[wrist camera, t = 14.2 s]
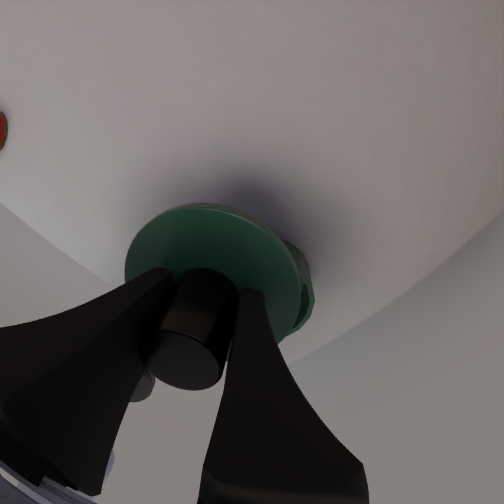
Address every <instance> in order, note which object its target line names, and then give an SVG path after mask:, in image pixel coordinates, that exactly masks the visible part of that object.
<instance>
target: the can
mask: <svg viewBox="0 0 504 504" xmlns="http://www.w3.org/2000/svg"><path fill="white" fill-rule="evenodd" d="M2 136H3V120H2V117H1V115H0V143H1V141H2Z"/></svg>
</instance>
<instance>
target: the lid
mask: <svg viewBox="0 0 504 504" xmlns="http://www.w3.org/2000/svg"><path fill="white" fill-rule="evenodd" d="M155 267H159V268H163V269H167V270H171V271H173V281H172V287H171V289H170V290H169V292H168V293H167V295H166V296H165V298H164V300H163V301H162V303H161V304H160V306H159V308H158V309H157V311H156V312H155V314H154V316H153V317H152V319H151V321H150V322H149V324H148V325H147V327H146V329H145V330H144V332H143V334H142V335H141V337H140V339H139V341H138V354H139V357H140V360H141V362H142V363H143V365H144V366H145V368H146V369H147V370H148V371H149V372H150V373H151V374H152V375H154V376H155V377H156V378H158V379H159V380H160V381H162V382H164V383H166V384H168V385H171V386H173V387H176V388H179V389H184V390H192V391H194V390H204V389H207V388H210V387H212V386H213V385H215V384H216V383H217V382H218V381H219V380H220V379H221V377H222V374H223V370H224V366H225V362H226V361H228V356H229V351H230V346H231V340H232V336H233V331H234V325H235V320H236V314H237V309H238V304H239V299H240V295H241V292H242V289H243V287H245V288H250V289H254V290H259V291H262V292H263V294H264V299H265V305H266V310H267V314H268V318H269V322H270V325H271V328H272V331H273V334H274V337H275V339H276V342H277V344H278V343H280V342H281V341H282V340H283V339H284V338H285V337H286V335H287V334H288V333H289V332H290V330H291V329H292V327H293V325H294V323H295V321H296V319H297V316H298V313H299V308H300V303H301V285H300V278H299V273H298V270H297V266H296V264H295V262H294V259H293V257H292V255H291V253H290V252H289V250H288V249H287V247H286V246H285V244H284V243H283V242H282V241H281V239H280V238H279V237H278V236H277V235H276V234H275V233H274V232H273V231H272V230H271V229H270V228H268V227H267V226H266V225H265V224H263V223H262V222H260V221H259V220H257V219H256V218H254V217H252V216H250V215H249V214H247V213H245V212H243V211H240V210H237V209H234V208H231V207H228V206H223V205H219V204H210V203H193V204H186V205H181V206H177V207H174V208H172V209H169V210H167V211H165V212H163V213H161V214H159V215H158V216H156V217H155V218H154V219H152V220H151V221H150V222H149V223H147V224H146V225H145V226H144V227H143V228H142V229H141V230H140V231H139V232H138V234H137V235H136V237H135V238H134V240H133V241H132V243H131V245H130V248H129V250H128V253H127V257H126V261H125V283H127V282H129V281H131V280H132V279H134V278H136V277H138V276H140V275H141V274H143V273H145V272H147V271H149V270H151V269H153V268H155Z"/></svg>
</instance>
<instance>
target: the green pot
mask: <svg viewBox="0 0 504 504" xmlns="http://www.w3.org/2000/svg"><path fill="white" fill-rule="evenodd" d="M281 241H282V242H283V243H284V244H285V246H286V247H287V249H288V250H289V252H290V253H291V255H292V257H293V259H294V262H295V264H296V266H297V270H298V273H299V278H300V285H301V303H300V308H299V313H298V316H297V319H296V321H295V323H294V325H293V327H292V329H291V330H290V332H289V333H288V334H287V335H286V336H288V335H290V334H292V333H294V332H296V331H297V330H299V329H300V328H301V327H302V326H303V325H304V324H305V322H306V321H307V320H308V319H309V318H310V316H311V313H312V309H313V306H314V302H315V299H314V294H313V288H312V283H311V278H310V273H309V268H308V264H307V262H306V260H305V258H304V256H303V254H302V253H301V252H300V251H299V250H298V249H297V248H296V247H295V246H294V245H292V244H291V243H289V242H287V241H285V240H282V239H281Z"/></svg>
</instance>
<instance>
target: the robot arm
mask: <svg viewBox="0 0 504 504" xmlns="http://www.w3.org/2000/svg"><path fill="white" fill-rule="evenodd" d="M172 281H173V271H171V270H167V269H163V268H159V267H155V268H153V269H151V270H149V271H147V272H145V273H143V274H141V275H140V276H138V277H136V278H134V279H132V280H131V281H129V282H127V283H125V284H123V285H121V286H119V287H117V288H116V289H114V290H112V291H110V292H108V293H106V294H104V295H102V296H99V297H97V298H95V299H93V300H91V301H89V302H87V303H85V304H82V305H80V306H77V307H75V308H72V309H70V310H67V311H64V312H62V313H59V314H56V315H53V316H49V317H46V318H43V319H39V320H35V321H32V322H28V323H23V324H19V325H13V326H7V327H2V328H0V467H1V468H2V469H3V470H5V471H6V472H7V473H9V474H10V475H11V476H13V477H14V478H15V479H17V480H18V481H19V483H18V485H17V487H15V486H14V485H12V484H11V483H10V482H8V481H7V480H6V479H4V478H3V477H2V476H1V474H0V504H97V503H95V502H92V501H93V499H94V497H95V496H96V495H99V494H101V489H102V486H103V484H104V483H105V481H106V479H107V478H108V476H109V474H110V471H111V469H112V466H113V463H114V459H115V455H114V452H113V445H114V442H115V439H116V436H117V433H118V430H119V427H120V424H121V422H122V419H123V416H124V413H125V411H126V408H127V406H128V403H129V401H130V399H131V396H132V394H133V392H134V390H135V388H136V386H137V385H138V383H139V381H140V379H141V377H142V376H143V374H144V372H145V370H146V368H145V366H144V365H143V363H142V362H141V360H140V357H139V354H138V341H139V339H140V337H141V335H142V334H143V332H144V330H145V329H146V327H147V325H148V324H149V322H150V321H151V319H152V317H153V316H154V314H155V312H156V311H157V309H158V308H159V306H160V304H161V303H162V301H163V300H164V298H165V296H166V295H167V293H168V292H169V290H170V289H171V287H172ZM197 504H369V491H368V484H367V479H366V475H365V471H364V467H363V464H362V463H361V462H360V461H359V460H358V459H357V458H356V457H355V456H354V455H353V454H352V453H351V452H350V451H349V450H348V449H347V448H346V447H345V446H344V445H343V444H342V443H341V442H340V441H339V440H338V439H337V438H336V437H335V436H334V435H333V433H332V432H331V431H330V430H329V429H328V428H327V426H326V425H325V424H324V423H323V422H322V420H321V419H320V417H319V416H318V415H317V413H316V412H315V411H314V409H313V408H312V406H311V405H310V404H309V402H308V401H307V399H306V398H305V397H304V395H303V394H302V392H301V390H300V389H299V387H298V385H297V384H296V382H295V380H294V378H293V376H292V375H291V373H290V371H289V369H288V367H287V365H286V363H285V361H284V359H283V356H282V354H281V352H280V349H279V347H278V345H277V342H276V339H275V337H274V334H273V331H272V328H271V325H270V322H269V318H268V314H267V310H266V305H265V299H264V294H263V292H262V291H259V290H254V289H250V288H245V287H243V289H242V292H241V295H240V299H239V304H238V309H237V314H236V320H235V325H234V331H233V336H232V340H231V346H230V351H229V356H228V363H227V370H226V378H225V385H224V391H223V395H222V399H221V402H220V406H219V410H218V414H217V417H216V422H215V425H214V428H213V432H212V436H211V439H210V443H209V447H208V450H207V454H206V457H205V461H204V464H203V469H202V476H201V483H200V490H199V497H198V501H197Z"/></svg>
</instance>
